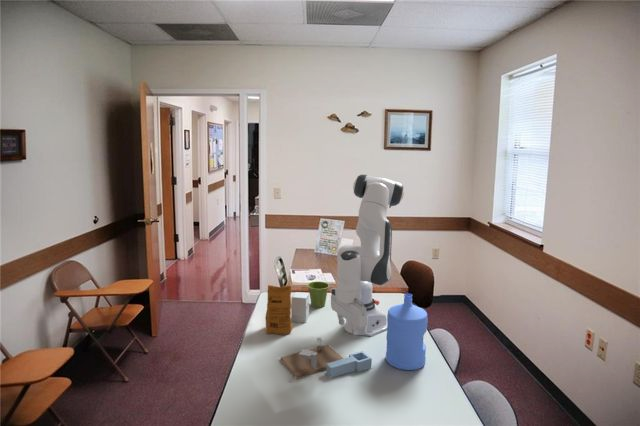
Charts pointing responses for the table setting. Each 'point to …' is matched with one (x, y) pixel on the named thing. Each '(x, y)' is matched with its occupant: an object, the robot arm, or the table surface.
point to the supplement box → (300, 307)
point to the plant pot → (318, 293)
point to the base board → (303, 365)
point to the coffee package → (278, 310)
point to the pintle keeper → (312, 354)
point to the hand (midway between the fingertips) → (348, 329)
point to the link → (349, 364)
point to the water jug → (406, 335)
